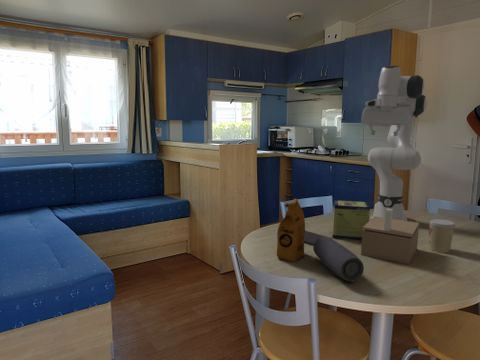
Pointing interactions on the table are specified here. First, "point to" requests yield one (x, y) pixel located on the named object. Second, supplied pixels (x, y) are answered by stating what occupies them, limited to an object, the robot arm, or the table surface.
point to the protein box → (349, 219)
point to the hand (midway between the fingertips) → (383, 135)
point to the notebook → (311, 238)
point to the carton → (389, 246)
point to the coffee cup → (440, 235)
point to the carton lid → (391, 225)
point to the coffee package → (291, 233)
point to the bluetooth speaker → (338, 259)
